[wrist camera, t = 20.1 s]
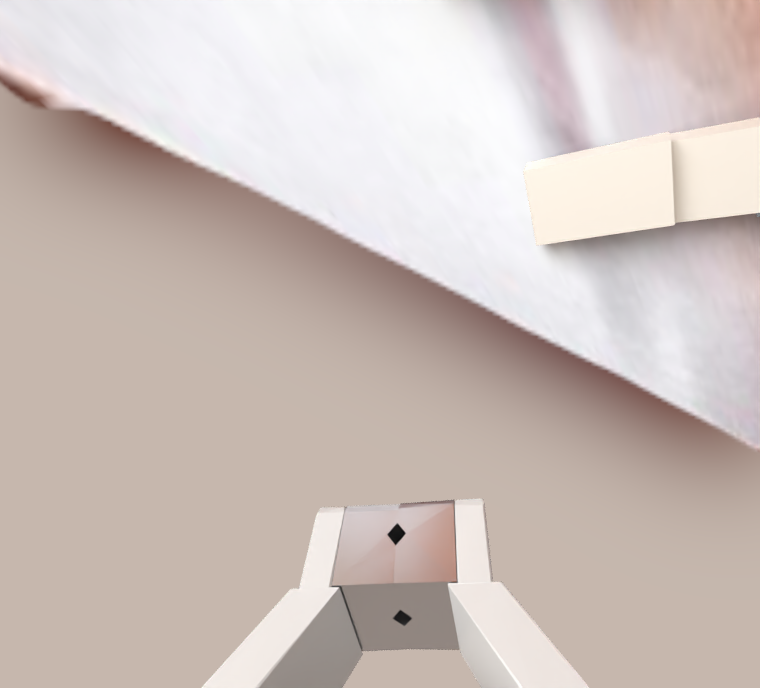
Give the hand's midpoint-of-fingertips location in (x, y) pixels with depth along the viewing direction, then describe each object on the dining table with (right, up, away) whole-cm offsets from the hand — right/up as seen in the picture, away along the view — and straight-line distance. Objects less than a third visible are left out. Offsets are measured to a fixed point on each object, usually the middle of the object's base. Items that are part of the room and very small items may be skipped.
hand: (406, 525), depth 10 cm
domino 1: (+9, +12, +25) cm, 29 cm away
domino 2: (+16, +13, +24) cm, 31 cm away
